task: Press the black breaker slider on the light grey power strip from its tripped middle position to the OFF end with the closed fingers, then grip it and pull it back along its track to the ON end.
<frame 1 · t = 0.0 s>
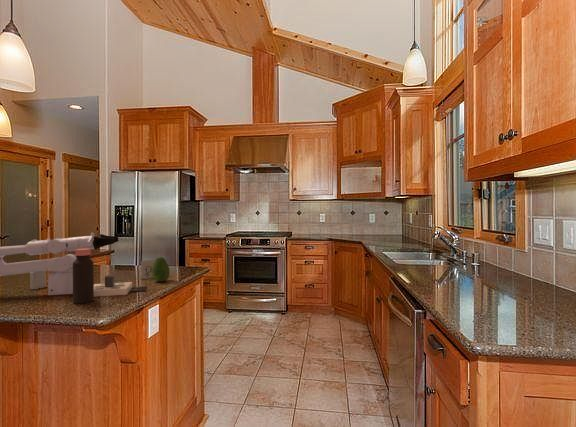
hand: (116, 239, 142), 22 cm above the table, tool horizontal, fingers open, 7 cm apart
breaker slider: (110, 280, 138), point 5 cm above the table, slide at 0.0 cm
power adapter: (38, 288, 145), on the table
power strip: (110, 292, 138), on the table
avocado: (160, 282, 158), on the table
bottle: (83, 302, 125), on the table
electrical switch: (150, 278, 167), on the table
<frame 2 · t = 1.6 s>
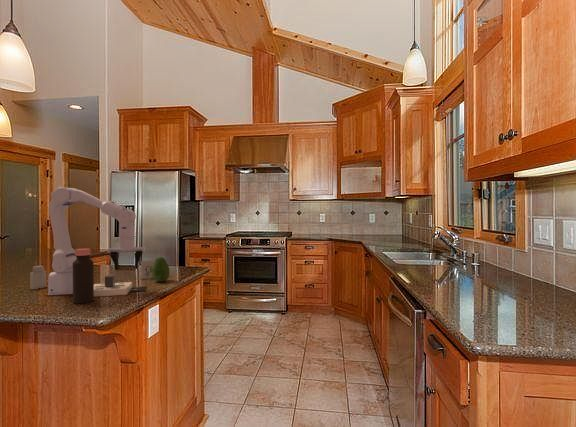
hand: (126, 269, 140), 9 cm above the table, tool pointing down, fingers open, 7 cm apart
nothing on the table moved.
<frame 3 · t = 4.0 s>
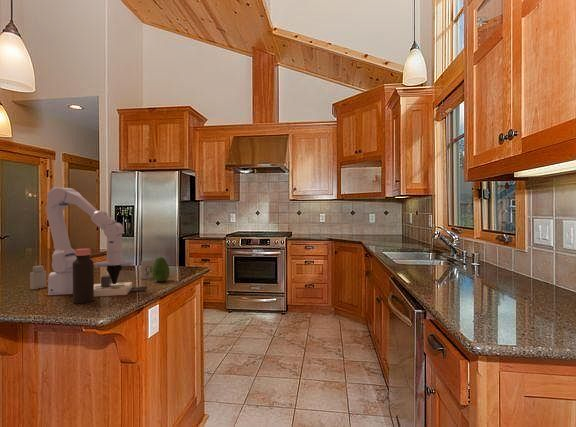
hand: (114, 283, 139), 4 cm above the table, tool pointing down, fingers closed
breaker slider: (106, 280, 138), point 5 cm above the table, slide at -1.4 cm, touching gripper
everything else where it was.
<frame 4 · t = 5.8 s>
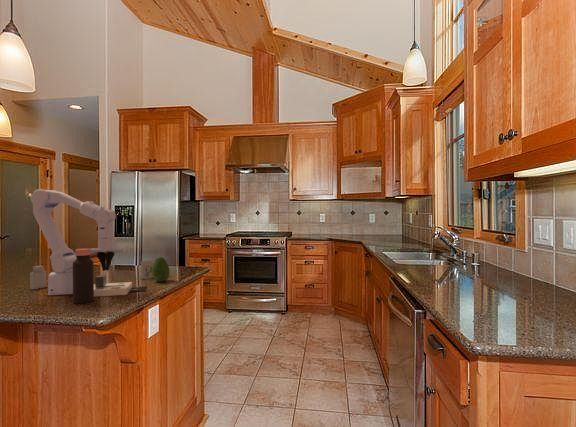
hand: (106, 270, 138), 9 cm above the table, tool pointing down, fingers closed
breaker slider: (100, 280, 137), point 5 cm above the table, slide at -3.6 cm
everything else where it was.
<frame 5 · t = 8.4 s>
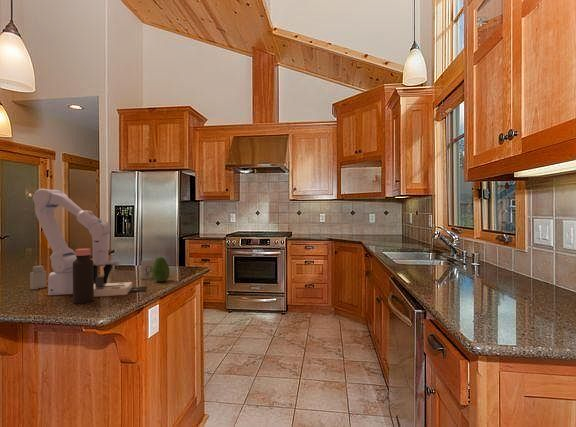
hand: (100, 283, 137), 4 cm above the table, tool pointing down, fingers closed on breaker slider, 3 cm apart
breaker slider: (100, 280, 137), point 5 cm above the table, slide at -3.5 cm, touching gripper
everything else where it was.
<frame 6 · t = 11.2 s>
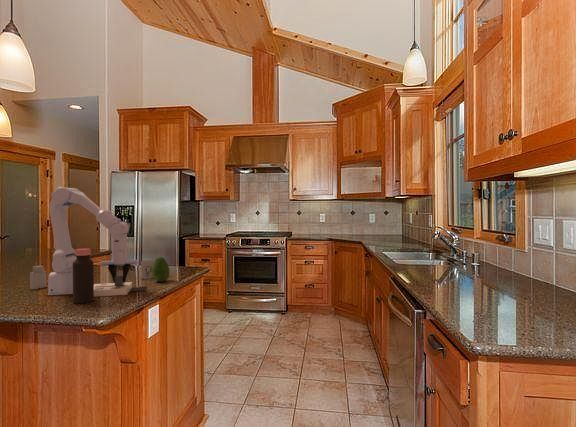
hand: (119, 282, 139), 4 cm above the table, tool pointing down, fingers closed on breaker slider, 3 cm apart
breaker slider: (119, 280, 139), point 5 cm above the table, slide at 3.7 cm, touching gripper
everything else where it was.
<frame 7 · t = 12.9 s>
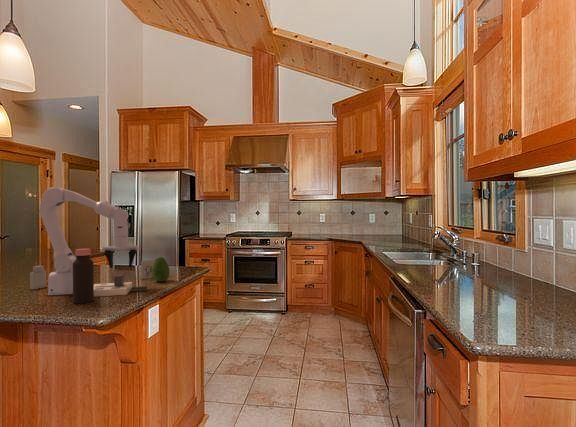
hand: (121, 267, 145), 9 cm above the table, tool pointing down, fingers open, 7 cm apart
breaker slider: (119, 280, 139), point 5 cm above the table, slide at 3.6 cm
everything else where it was.
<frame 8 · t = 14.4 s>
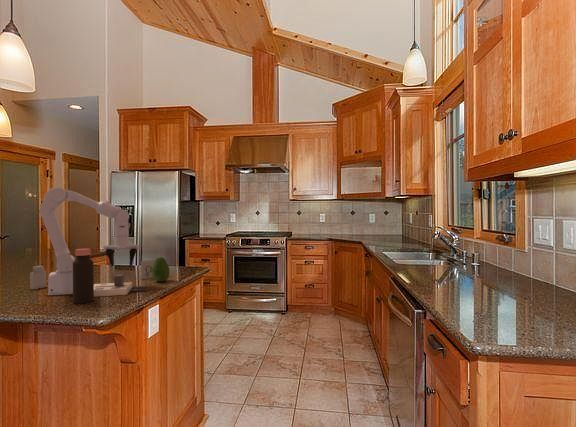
hand: (121, 265, 148), 9 cm above the table, tool pointing down, fingers open, 7 cm apart
nothing on the table moved.
at the end: breaker slider slide at 3.6 cm; the gripper is holding nothing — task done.
